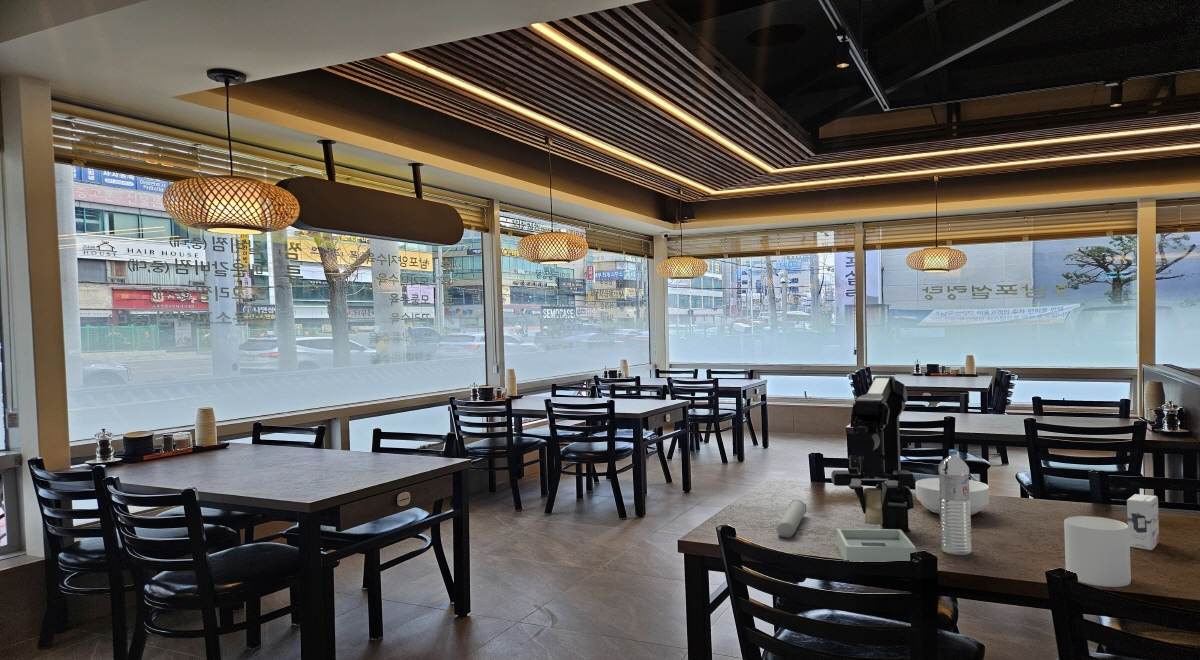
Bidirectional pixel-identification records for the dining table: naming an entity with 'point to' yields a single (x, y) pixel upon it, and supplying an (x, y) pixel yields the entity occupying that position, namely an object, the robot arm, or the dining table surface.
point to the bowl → (931, 493)
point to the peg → (873, 505)
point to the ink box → (1143, 521)
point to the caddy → (874, 545)
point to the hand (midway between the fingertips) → (873, 513)
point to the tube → (791, 518)
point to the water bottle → (954, 505)
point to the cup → (1098, 550)
